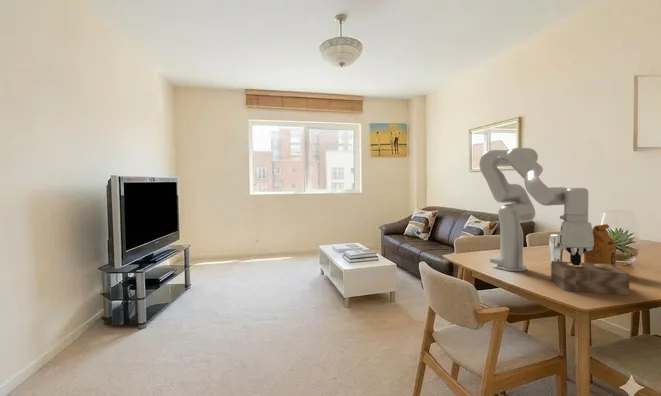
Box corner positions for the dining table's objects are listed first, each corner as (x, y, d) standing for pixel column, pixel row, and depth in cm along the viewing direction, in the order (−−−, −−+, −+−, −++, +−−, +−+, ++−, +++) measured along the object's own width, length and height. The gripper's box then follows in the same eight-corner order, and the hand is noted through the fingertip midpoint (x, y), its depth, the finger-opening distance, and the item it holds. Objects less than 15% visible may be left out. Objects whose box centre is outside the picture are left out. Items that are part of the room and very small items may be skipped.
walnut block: (563, 290, 119) (564, 267, 119) (551, 279, 132) (551, 259, 132) (628, 295, 113) (629, 271, 112) (608, 283, 126) (609, 262, 125)
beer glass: (565, 263, 156) (565, 234, 155) (566, 267, 150) (567, 236, 150) (548, 262, 160) (548, 233, 159) (549, 265, 154) (549, 235, 153)
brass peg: (569, 284, 122) (569, 265, 122) (564, 280, 127) (564, 262, 127) (585, 285, 120) (585, 266, 120) (579, 281, 125) (580, 262, 125)
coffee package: (621, 273, 138) (622, 224, 137) (605, 277, 133) (606, 227, 132) (594, 268, 148) (595, 222, 147) (579, 271, 143) (580, 224, 142)
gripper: (557, 219, 121) (556, 265, 122) (603, 220, 116) (603, 268, 117) (550, 217, 128) (550, 261, 129) (594, 218, 124) (593, 263, 124)
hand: (575, 264), depth 123 cm, fingers closed
